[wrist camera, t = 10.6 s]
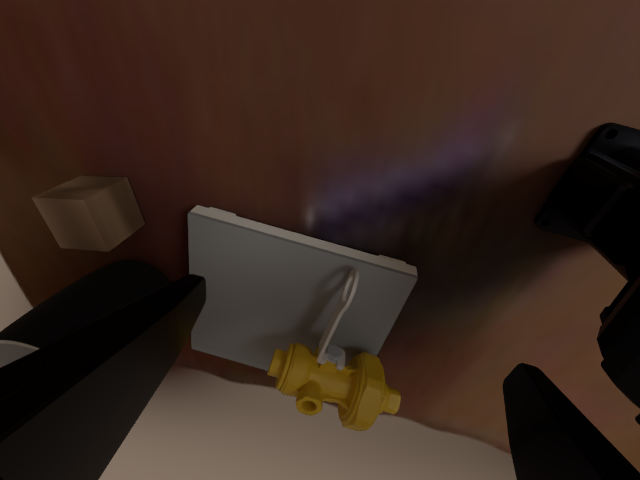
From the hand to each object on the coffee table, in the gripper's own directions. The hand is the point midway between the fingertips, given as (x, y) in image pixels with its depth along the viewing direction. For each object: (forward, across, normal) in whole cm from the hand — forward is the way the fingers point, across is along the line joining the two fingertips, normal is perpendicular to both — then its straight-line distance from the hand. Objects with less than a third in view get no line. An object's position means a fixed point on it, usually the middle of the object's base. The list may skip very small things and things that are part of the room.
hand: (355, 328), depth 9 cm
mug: (+13, +17, +18) cm, 28 cm away
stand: (+13, +3, +13) cm, 18 cm away
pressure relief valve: (+8, +3, +11) cm, 14 cm away
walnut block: (+13, +19, +7) cm, 24 cm away
